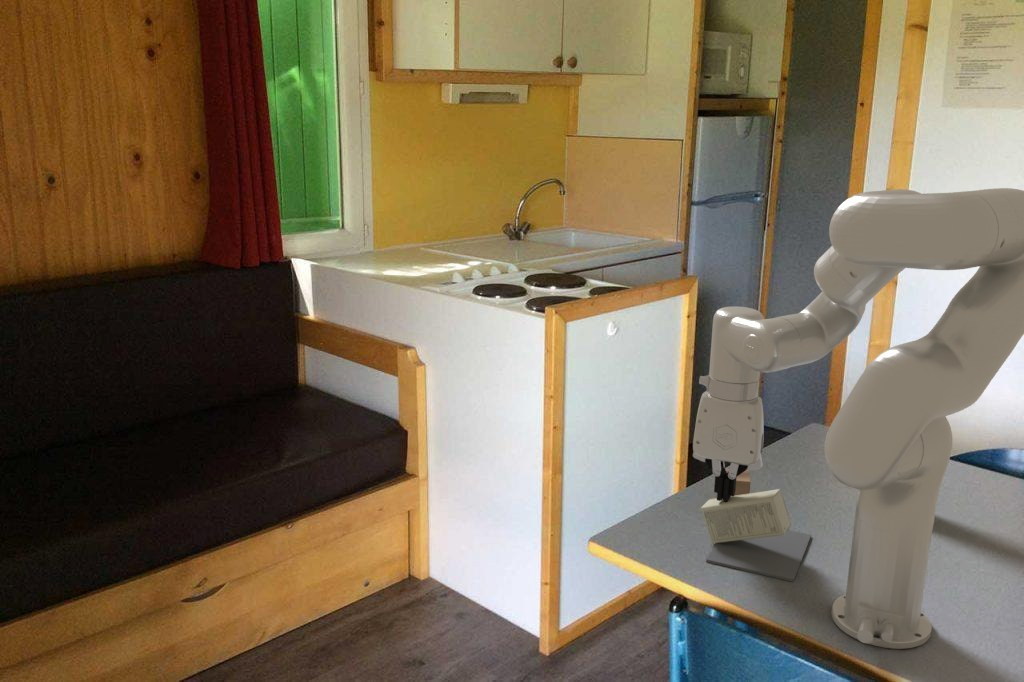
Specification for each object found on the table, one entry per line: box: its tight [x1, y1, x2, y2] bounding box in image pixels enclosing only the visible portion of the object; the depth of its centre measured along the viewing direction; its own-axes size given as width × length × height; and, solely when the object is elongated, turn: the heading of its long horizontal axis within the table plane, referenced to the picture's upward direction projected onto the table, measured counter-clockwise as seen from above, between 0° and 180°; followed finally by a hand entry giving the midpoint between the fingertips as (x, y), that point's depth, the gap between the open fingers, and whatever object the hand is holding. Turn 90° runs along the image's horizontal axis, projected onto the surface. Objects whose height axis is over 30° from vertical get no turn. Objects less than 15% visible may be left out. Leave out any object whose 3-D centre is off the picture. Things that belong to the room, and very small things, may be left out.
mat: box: [705, 529, 812, 583], centre depth 146 cm, size 16×13×1 cm
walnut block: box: [725, 468, 751, 496], centre depth 162 cm, size 5×5×5 cm
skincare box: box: [700, 488, 792, 544], centre depth 145 cm, size 6×4×12 cm
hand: (724, 497), depth 146 cm, fingers closed
